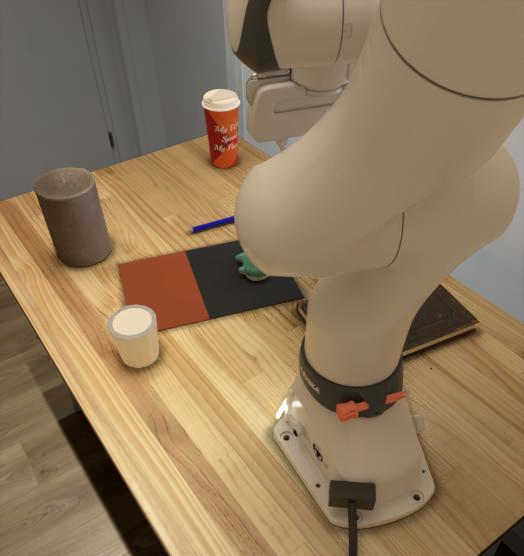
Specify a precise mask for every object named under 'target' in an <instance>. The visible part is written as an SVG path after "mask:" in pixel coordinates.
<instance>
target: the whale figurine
mask: <svg viewBox="0 0 524 556" xmlns="http://www.w3.org/2000/svg"><path fill="white" fill-rule="evenodd" d="M235 259H236V260H237V261H240V262H242V264H243V267H240V268H239V272H240V273H242V274H245V275H246V277H247V278H248V279H250V280H253V281H261V280H264V279H266V278H267V277H269V276H268V275H266V274H265V273H263V272H262V271H260V270H259V269H258V268H257V267H256V266H255V265H254V264H253V263H252V262H251V261H250V260H249V258H248V257H247V255H246V254H245V252H244V253H241V254H239V255H236V257H235Z"/></svg>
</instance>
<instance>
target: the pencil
mask: <svg viewBox="0 0 524 556" xmlns="http://www.w3.org/2000/svg"><path fill="white" fill-rule="evenodd" d="M231 222H232V223H233V222H235V219H234V215H232V216H227V217H224V218H221V219H217V220H213V221H210V222H207V223H203V224H199V225H195V226H191V228H189V229H188V230H187V233H197V232H200V231H203V230H207V229H211V228H214V227H217V226H222V225H224V224H228V223H231Z"/></svg>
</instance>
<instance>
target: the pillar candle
mask: <svg viewBox="0 0 524 556" xmlns="http://www.w3.org/2000/svg"><path fill="white" fill-rule="evenodd" d="M33 190H34V193H35V196H36V198H37V201H38V205H39V207H40V210H41V212H42V216H43V218H44V223H45V225H46V228H47V229H48V234H49V236H50V239H51V242H52V246H53V247H54V249H55V251H56V253H55V254H56V258H57V259H58V260H59V261H60V262H61V263H62V264H64V265H66V266H67V267H68V266H69V267H73V268H83V267H84V268H85V267H89V266H93V265H95V264H98V263H100V262H102V261H104V260H105V259H106V258H107V257H108V256H109V255H110V254H111V250H112V242H111V239H110V234H109V230H108V227H107V226H108V225H107V223H106V222H107V221H106V217H105V215H104V211H103V207H102V203H101V199H100V195H99V192H98V187H97V184H96V179H95V176H94V175H93V174H92V173H91V172H90V171H89V170H87V168H81V167H80V168H79V167H61V168H56V169H53V170H49V171H47V172H46V173H44V174H42V175H41V176H40V177H38V178H37V180H36V181H35V182H34V186H33Z"/></svg>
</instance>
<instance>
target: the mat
mask: <svg viewBox="0 0 524 556" xmlns="http://www.w3.org/2000/svg"><path fill="white" fill-rule="evenodd" d="M241 253H244V251H243V249H242V247H241V245H240V242H239V240H238V239H237V240H232V241H227V242H222V243H217V244H213V245H212V244H211V245H209V246H208V245H207V246H203V247H198V248H193V249H192V248H191V249H187V250H182V251H178V252H173V253H168V254H162V255H159V256H158V255H157V256H152V257H146V258H142V259H137V260H132V261H127V262H122V263H118V264H117V267H118V272H119V277H120V281H121V285H122V290H123V293H124V294H123V295H124V298H125V303H126V306H129V305H143V306H146V307H148V308H150V309H152V310H153V311H154V313H155V314H156V320H157V332H161V331H165V330H169V329H174V328H178V327H181V326H187V325H191V324H196V323H200V322H204V321H208V320H209V321H210V320H212V319H217V318H222V317H227V316H231V315H235V314H240V313H244V312H248V311H252V310H257V309H262V308H266V307H270V306H275V305H279V304H284V303H288V302H292V301H297V300H301V299H304V298H305V296H304V294H303V292H302V290H301V289H300V287H299V284H298V283H297V281H296V279H295V277H283V276H269V277H267V278H266V279H264V280H261V281H253V280H250V279H248V278H247V277H246V275H245V274H242V273H240V272H239V268H240V267H243V264H242V262H240V261H237V260H236V259H235V257H236V255H239V254H241Z"/></svg>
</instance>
